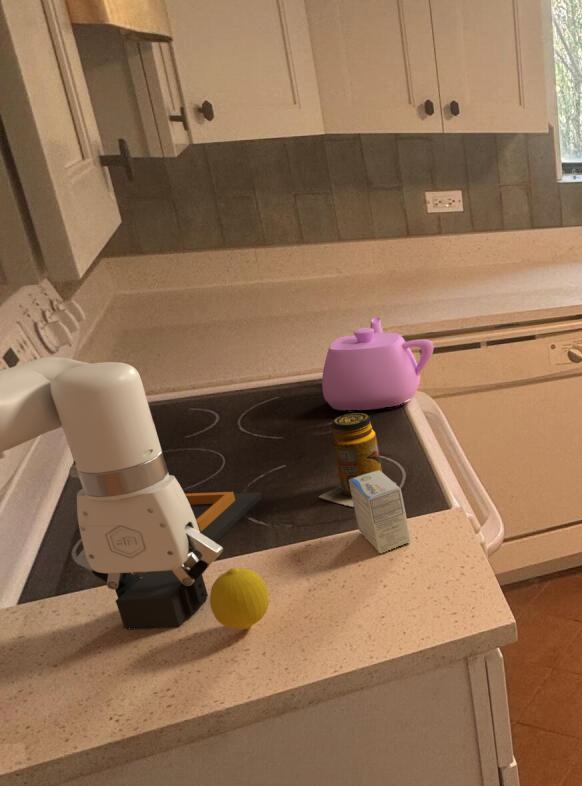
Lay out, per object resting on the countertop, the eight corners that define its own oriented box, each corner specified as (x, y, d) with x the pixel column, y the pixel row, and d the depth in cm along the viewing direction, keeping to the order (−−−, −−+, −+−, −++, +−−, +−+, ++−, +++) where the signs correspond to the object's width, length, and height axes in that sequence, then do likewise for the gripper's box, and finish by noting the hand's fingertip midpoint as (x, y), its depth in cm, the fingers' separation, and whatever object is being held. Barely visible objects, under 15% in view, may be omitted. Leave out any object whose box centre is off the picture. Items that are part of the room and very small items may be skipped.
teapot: (436, 410, 154) (425, 336, 149) (319, 420, 149) (303, 344, 144) (448, 373, 175) (438, 308, 169) (345, 381, 170) (332, 314, 164)
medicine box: (412, 543, 108) (402, 487, 105) (378, 555, 105) (367, 498, 102) (390, 522, 113) (380, 468, 110) (358, 533, 110) (347, 478, 107)
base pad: (102, 551, 106) (96, 535, 105) (165, 502, 119) (160, 487, 118) (211, 546, 107) (206, 530, 106) (261, 498, 120) (258, 483, 119)
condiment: (397, 484, 124) (385, 414, 120) (353, 507, 117) (338, 434, 113) (363, 475, 127) (350, 407, 123) (318, 498, 120) (302, 426, 116)
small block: (124, 629, 90) (115, 600, 89) (157, 598, 96) (148, 571, 94) (179, 626, 91) (170, 597, 89) (208, 596, 96) (200, 568, 95)
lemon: (264, 607, 94) (249, 550, 91) (283, 626, 91) (268, 567, 88) (212, 630, 90) (194, 571, 87) (230, 650, 87) (212, 589, 84)
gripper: (14, 492, 82) (66, 634, 89) (187, 485, 84) (226, 625, 90) (66, 462, 89) (111, 594, 96) (224, 456, 91) (258, 587, 97)
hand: (166, 608), depth 93 cm, fingers closed on small block, 6 cm apart
